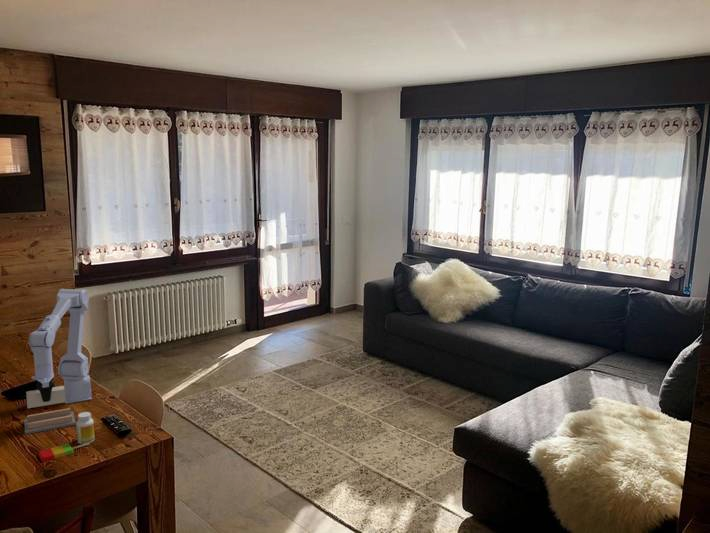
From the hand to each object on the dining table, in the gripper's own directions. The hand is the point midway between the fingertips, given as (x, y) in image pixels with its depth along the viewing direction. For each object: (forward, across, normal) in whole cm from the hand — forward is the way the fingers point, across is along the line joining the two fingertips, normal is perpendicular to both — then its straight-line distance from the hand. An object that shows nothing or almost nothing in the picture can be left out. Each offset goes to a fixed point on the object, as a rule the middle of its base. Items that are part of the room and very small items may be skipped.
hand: (46, 399), depth 210 cm
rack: (+9, +2, +1) cm, 9 cm away
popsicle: (+10, +25, +4) cm, 27 cm away
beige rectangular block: (+2, 0, 0) cm, 2 cm away
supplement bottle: (+9, +21, +11) cm, 25 cm away
